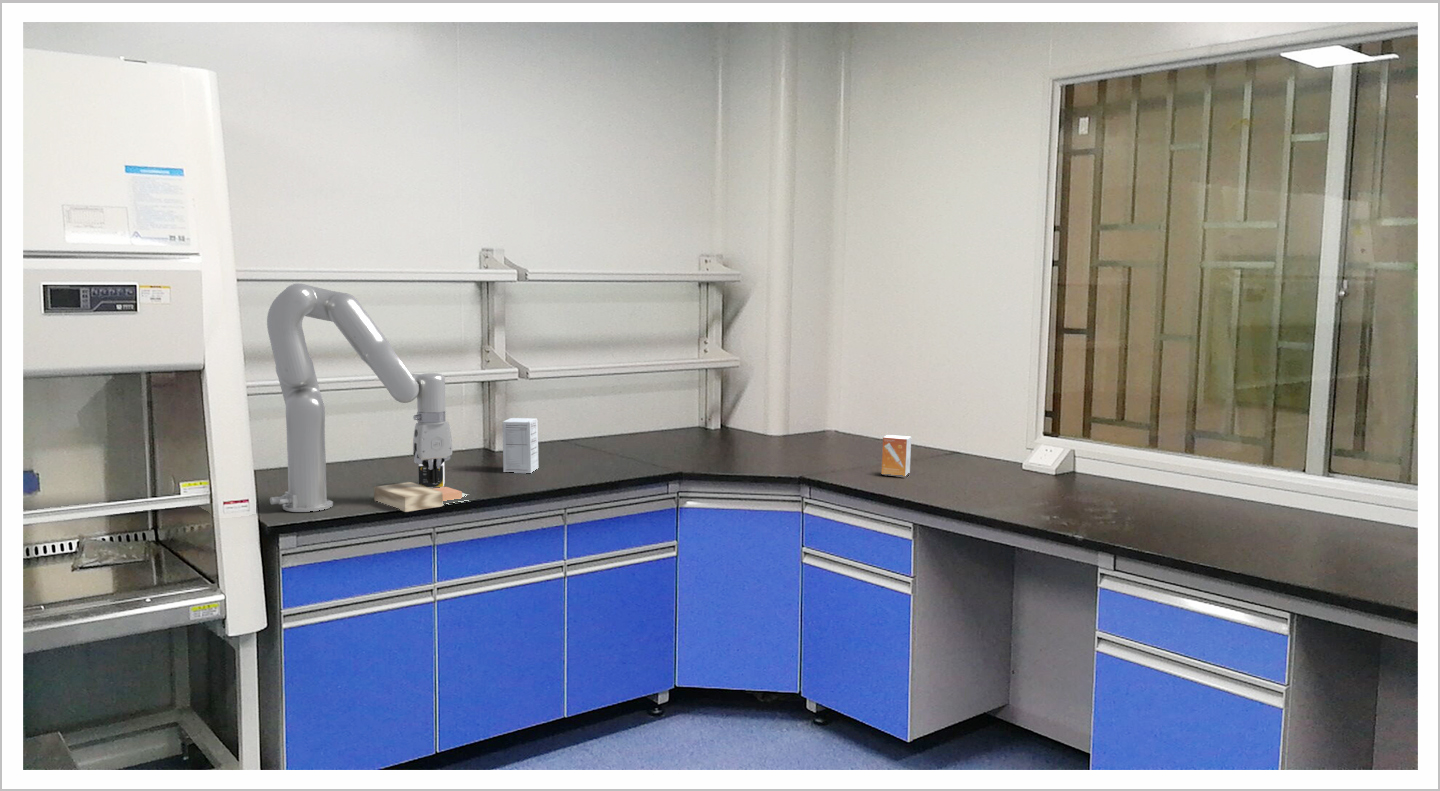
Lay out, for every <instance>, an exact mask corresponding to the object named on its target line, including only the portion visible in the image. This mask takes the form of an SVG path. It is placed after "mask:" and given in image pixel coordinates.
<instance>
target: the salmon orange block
mask: <svg viewBox="0 0 1440 791" xmlns="http://www.w3.org/2000/svg"><path fill="white" fill-rule="evenodd" d="M432 489H435V490H438V491H441V492H442V501H447V500H454V499H461V498H462V493H463V491H462V490H459V489H455V488H451V487H448V486H444V487H440V488H432Z"/></svg>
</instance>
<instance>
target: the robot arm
mask: <svg viewBox="0 0 1440 791" xmlns="http://www.w3.org/2000/svg"><path fill="white" fill-rule="evenodd" d="M305 317H307V318H312V319H315V320H316V319H317V320H321V321H327V322H332V323H334V325H335V326H336V327H337V329H338V330H339V332H341V334H342V335H343V337H344V338H345V340H347V342H348V344H350V346H351V347H352V348H353V350H354V351H355V352H356V355H358V356H359V358H360V359H361V360H362V361H363V362H364V363H365V364H366V365H367V366H368V367H369V368H370V369H371V370H372V372H373V373H374V374H375V375H376V376H377V378H378V379H379V380H380V382H381V383H382V385H383V386H384V387H385V388H386V390H387V391H388V394H389V395H390V396H391V397H392V398H393V399H394V400H395V402H398V403H402V404H408V403H411V402H413V401H414V400H417V401H416V402H417V412H416V414H414V415H413V418H412V419H413V420H414V421H416V423H415V425H414V431H413V443H412V453H413V457H414V458H413V459H414V460H413V463H414V464H418V465H419V464H422V465H423V466H424V467H425V468H426V477H427V481H428V482H429V483H432V484H433V483H438V479H439V468H440V467H441V465H442V464H443V462H444V463H445V462H447V461H449V460H451V456H452V455H453V441H452V440H453V439H452V430H451V427H450V422H449V421H446V418H447V417H446V380H445V378H446V377H445V376H444V375H443V374H442V373H437V372H436V373H435V372H430V373H429V372H427V373H421V374H418V373H411V372H410V371H409V369H408V368H407V367H406V365H405V364H404V363H403V361H402V360H401V359H400V357H399V356H398V355H397V353H396V352H395V350H394V349H393V347H392V345H391V344H390V342H389V340H387V338H386V337H385V335H384V334H383V332H382V331H381V330H380V328H379V327H378V326H377V324H376V323H375V322H374V320H373V319H372V317H371V316H370V315H369V314H368V312H367V311H366V310H365V309H364V307H363V306H362V304H361V303H360V302H359V300H358V299H357V298H356V297H355V296H353V295H352V294H349V293H346V292H340V291H335V290H330V289H324V288H322V287H317V286H314V285H310V284H309V285H308V284H304V283H293V284H291V285H288V286H287V287H286V288H285V289H283V290H282V291H281V292H280V293H279V294H278V295H277V296H276V297H275V299H273V301H272V302H271V304H270V307H269V309H268V312H267V317H266V326H267V332H268V338H269V340H270V341H269V342H270V346H271V350H272V355H273V358H274V363H275V373H276V375H277V378H278V381H279V386H280V388H281V389H280V390H281V394H282V396H283V401H284V403H285V421H286V422H285V425H286V426H285V428H286V451H287V452H286V453H287V454H286V455H287V484H288V490H286V491H284V494H282V495H281V496H271V497H270V498H269V503H270V505H282V509H283V510H284V511H286V512H291V513H292V512H293V513H311V512H310V511H313V512H318V511H319V510H320V511H323V510H324V509H325V510H327V509H330V507H331V508H332V507H334V501H332V500H330V499H327V496H328V495H327V466H326V464H327V463H326V462H327V461H326V434H325V433H326V431H325V430H326V429H325V428H326V410H325V402H324V401H323V397H322V394H321V390H320V387H319V383H318V379H317V374H316V370H315V366H314V362H313V360H312V358H311V356H310V354H309V351H308V346H307V343H306V339H305V335H304V330H303V320H304V319H305ZM421 459H423V460H421ZM432 459H433V461H432ZM320 511H319V512H320Z"/></svg>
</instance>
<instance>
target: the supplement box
mask: <svg viewBox="0 0 1440 791" xmlns="http://www.w3.org/2000/svg"><path fill="white" fill-rule="evenodd" d="M538 423H539V422H538V418H535V417H534V418H533V417H530V418H527V417H510V418H508V419H506V420H503V421H502V456H503V457H502V463H503V464H502V465H503V467H502V468H503V470H502V471H503V472H514V473H513V474H526V473H531V474H533V473H534V472H535V470H536V469H537V470H539V469H538V468H539V429H538V428H539V426H538V425H539V424H538ZM537 470H536V471H537ZM533 471H534V472H533ZM532 472H533V473H532Z"/></svg>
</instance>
